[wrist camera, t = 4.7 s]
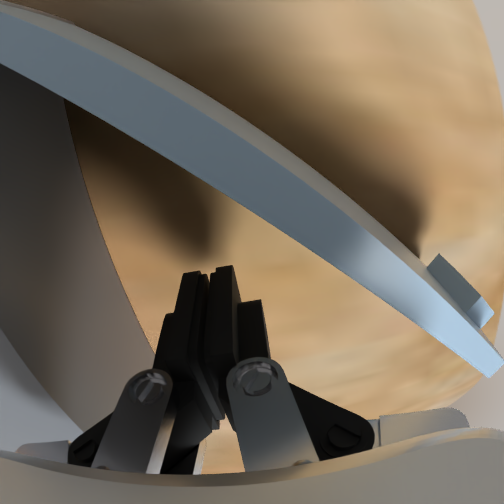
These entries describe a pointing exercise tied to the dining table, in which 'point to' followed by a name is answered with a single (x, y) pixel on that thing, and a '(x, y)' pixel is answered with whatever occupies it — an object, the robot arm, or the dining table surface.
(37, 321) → the grey block
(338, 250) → the side door
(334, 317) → the dining table surface
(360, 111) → the dining table surface
